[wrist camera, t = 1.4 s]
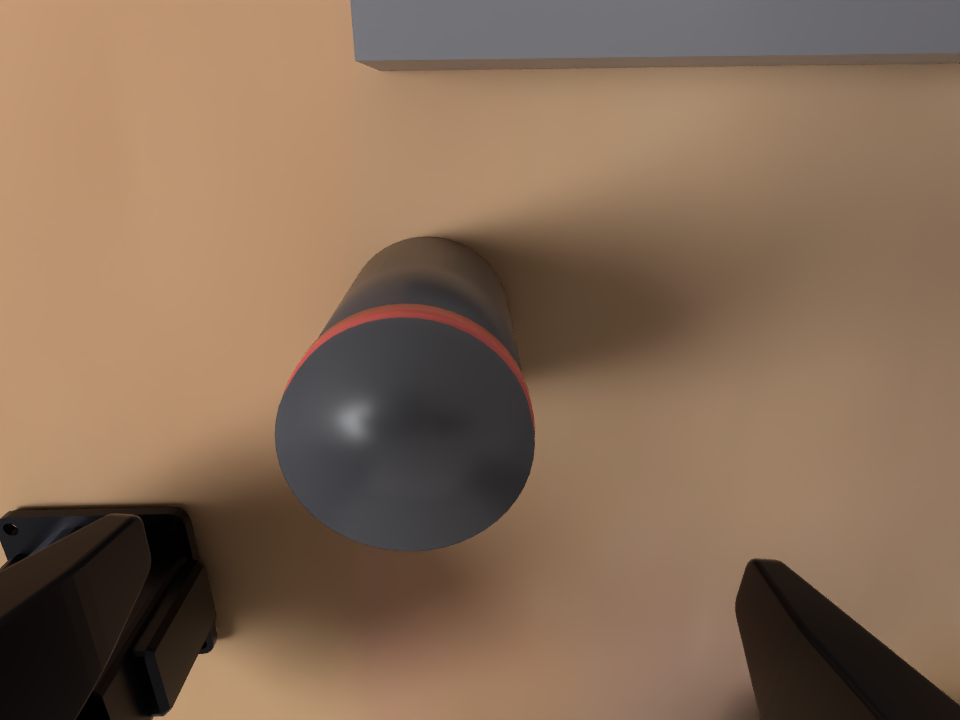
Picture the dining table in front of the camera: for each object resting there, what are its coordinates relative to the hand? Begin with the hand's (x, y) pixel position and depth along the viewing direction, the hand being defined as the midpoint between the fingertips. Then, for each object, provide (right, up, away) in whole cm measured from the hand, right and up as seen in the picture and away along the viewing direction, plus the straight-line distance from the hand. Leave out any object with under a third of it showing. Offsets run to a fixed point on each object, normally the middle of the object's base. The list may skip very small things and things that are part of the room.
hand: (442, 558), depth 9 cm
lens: (-1, +4, +10) cm, 11 cm away
